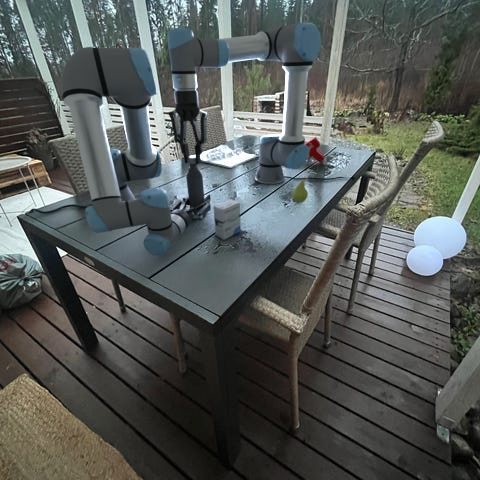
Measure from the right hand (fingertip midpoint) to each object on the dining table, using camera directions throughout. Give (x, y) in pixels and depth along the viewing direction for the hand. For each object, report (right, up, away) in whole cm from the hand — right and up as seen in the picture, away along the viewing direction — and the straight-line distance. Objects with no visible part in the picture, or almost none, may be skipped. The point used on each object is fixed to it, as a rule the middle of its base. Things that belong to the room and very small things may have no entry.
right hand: (192, 162), depth 99 cm
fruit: (+44, -11, +22) cm, 51 cm away
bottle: (0, -18, +12) cm, 22 cm away
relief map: (+6, +26, +81) cm, 85 cm away
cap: (0, +2, -1) cm, 2 cm away
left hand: (+1, -11, +13) cm, 17 cm away
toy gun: (+60, +21, +73) cm, 96 cm away
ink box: (+13, -26, 0) cm, 29 cm away
